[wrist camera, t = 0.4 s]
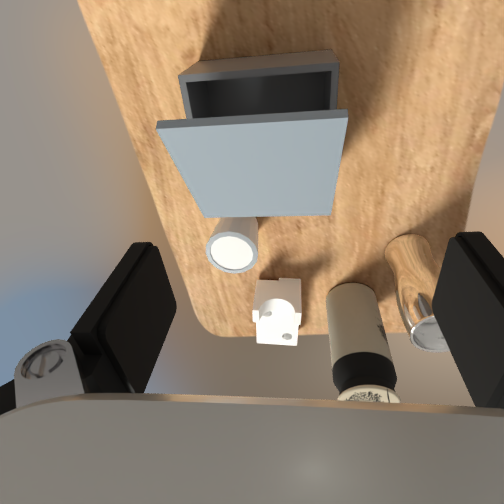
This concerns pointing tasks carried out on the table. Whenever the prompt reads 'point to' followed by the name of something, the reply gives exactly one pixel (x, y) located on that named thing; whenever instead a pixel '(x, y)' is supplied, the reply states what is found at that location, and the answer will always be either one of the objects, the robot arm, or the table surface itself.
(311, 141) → the lid
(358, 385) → the travel mug
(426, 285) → the silver metal tumbler
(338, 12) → the table surface
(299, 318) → the bracket
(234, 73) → the storage box
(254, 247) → the white cup
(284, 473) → the robot arm
